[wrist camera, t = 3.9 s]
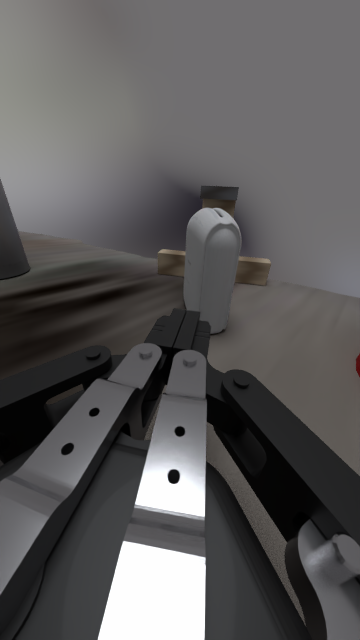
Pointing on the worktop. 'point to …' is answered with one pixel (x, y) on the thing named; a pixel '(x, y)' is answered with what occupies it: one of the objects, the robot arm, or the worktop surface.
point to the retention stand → (247, 266)
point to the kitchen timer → (358, 365)
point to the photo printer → (211, 265)
